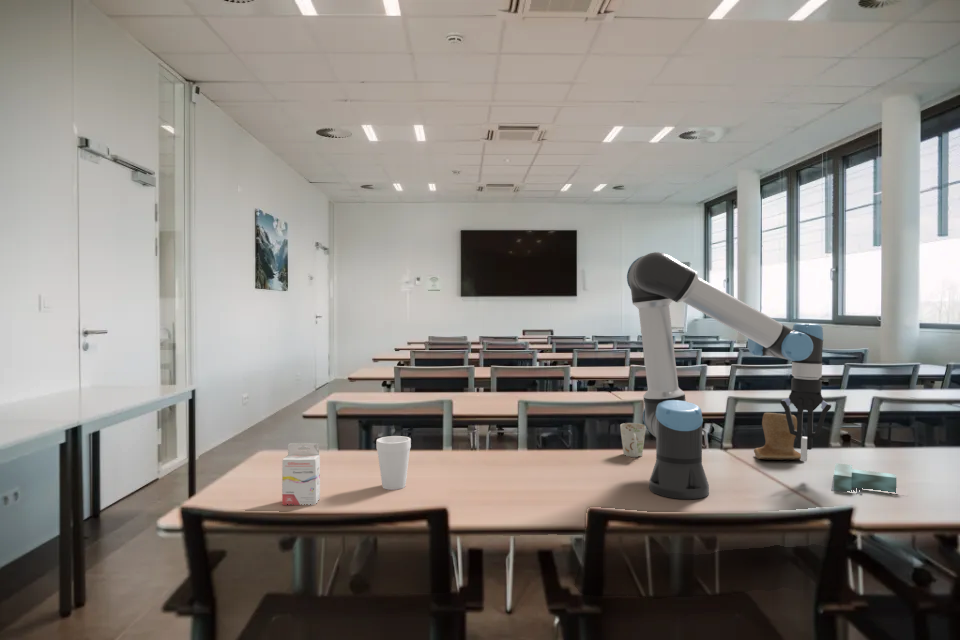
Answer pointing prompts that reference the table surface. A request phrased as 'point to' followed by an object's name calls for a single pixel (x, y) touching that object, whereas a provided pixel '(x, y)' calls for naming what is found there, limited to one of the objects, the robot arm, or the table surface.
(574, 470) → the table surface
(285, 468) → the ink cartridge box
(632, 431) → the mug
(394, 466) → the foam cup
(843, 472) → the t block
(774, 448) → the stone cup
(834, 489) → the pad
